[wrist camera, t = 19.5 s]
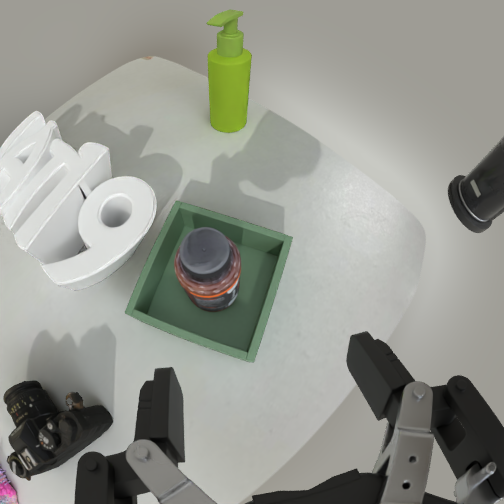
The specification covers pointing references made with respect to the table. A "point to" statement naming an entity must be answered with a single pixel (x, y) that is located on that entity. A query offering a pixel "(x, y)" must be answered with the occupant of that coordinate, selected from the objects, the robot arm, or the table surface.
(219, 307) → the supplement bottle
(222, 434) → the table surface
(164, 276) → the green square tray
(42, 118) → the white letter sculpture
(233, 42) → the soap dispenser
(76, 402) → the film camera
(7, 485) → the candy landscape model
